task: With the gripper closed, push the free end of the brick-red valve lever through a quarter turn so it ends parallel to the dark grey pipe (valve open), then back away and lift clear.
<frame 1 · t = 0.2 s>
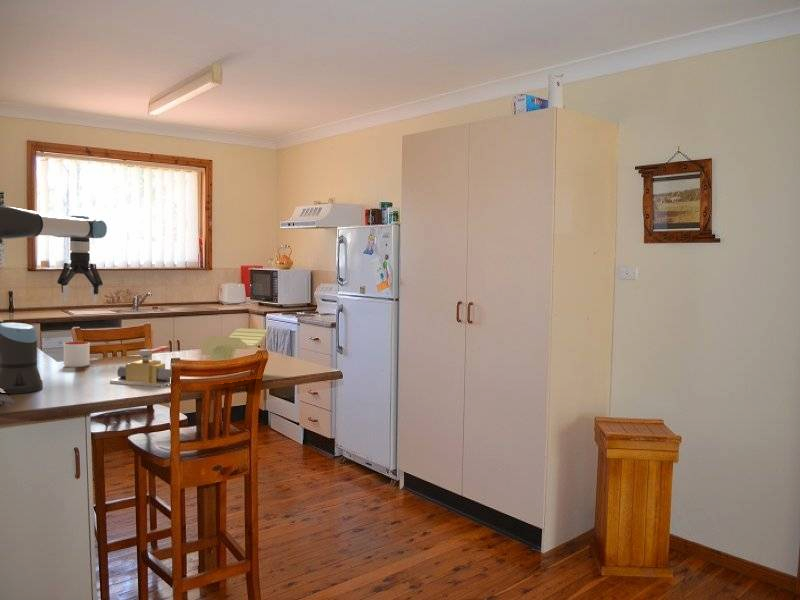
hand: (79, 301, 271), 28 cm above the kitchen counter, fingers open, 13 cm apart
lever: (155, 350, 247), point 12 cm above the kitchen counter, hinge at 0.0°
valve: (145, 382, 242), on the kitchen counter
slatted curved stool: (235, 375, 263), on the kitchen counter
cup: (76, 366, 271), on the kitchen counter
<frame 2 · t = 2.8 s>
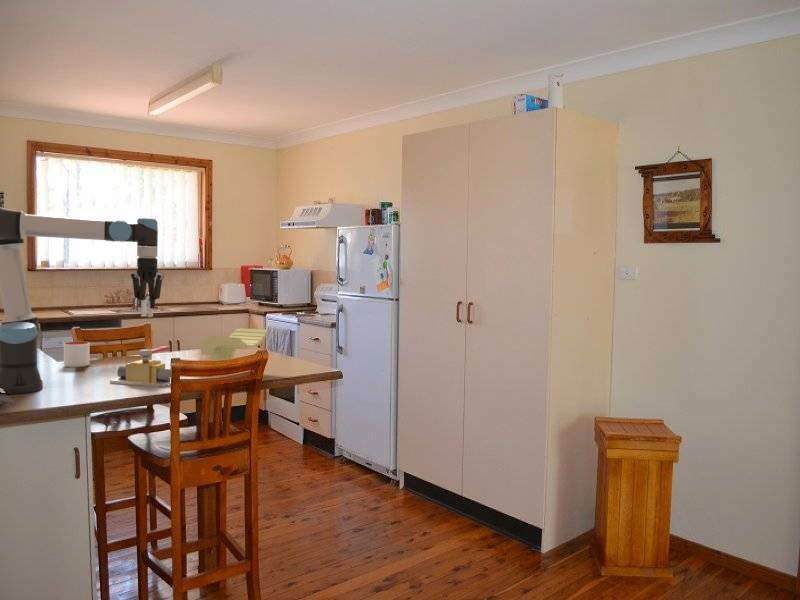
hand: (147, 316, 250), 24 cm above the kitchen counter, fingers open, 2 cm apart
nothing on the kitchen counter moved.
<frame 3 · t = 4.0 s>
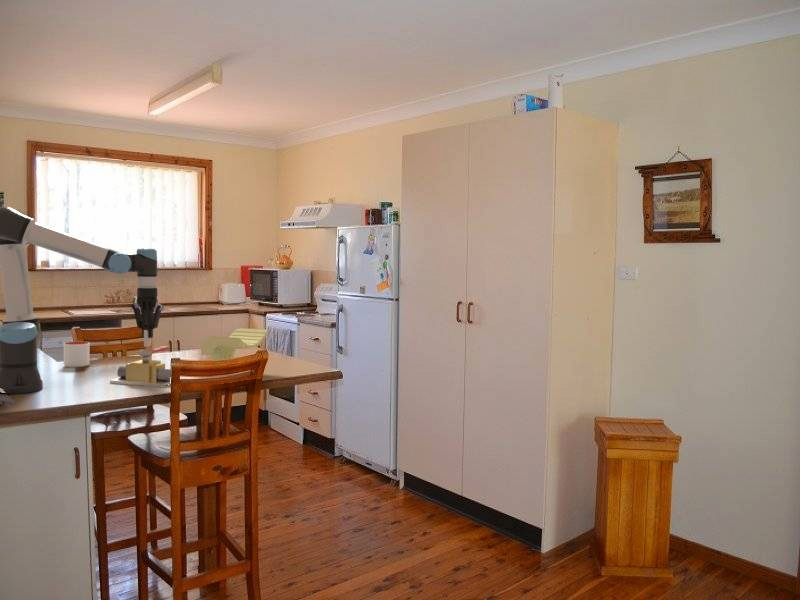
hand: (147, 345, 251), 13 cm above the kitchen counter, fingers closed
nothing on the kitchen counter moved.
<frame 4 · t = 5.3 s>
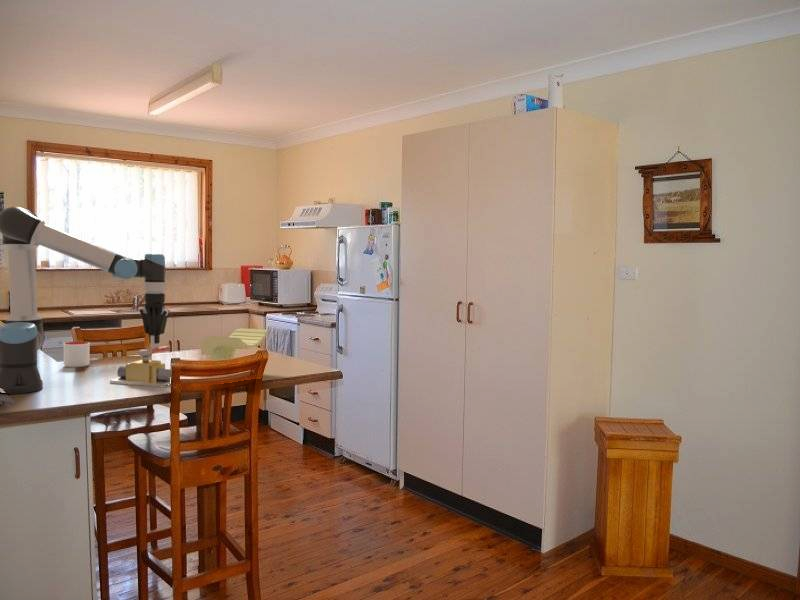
hand: (154, 351, 251), 11 cm above the kitchen counter, fingers closed
lever: (155, 350, 247), point 11 cm above the kitchen counter, hinge at 0.5°, touching gripper
everything else where it was.
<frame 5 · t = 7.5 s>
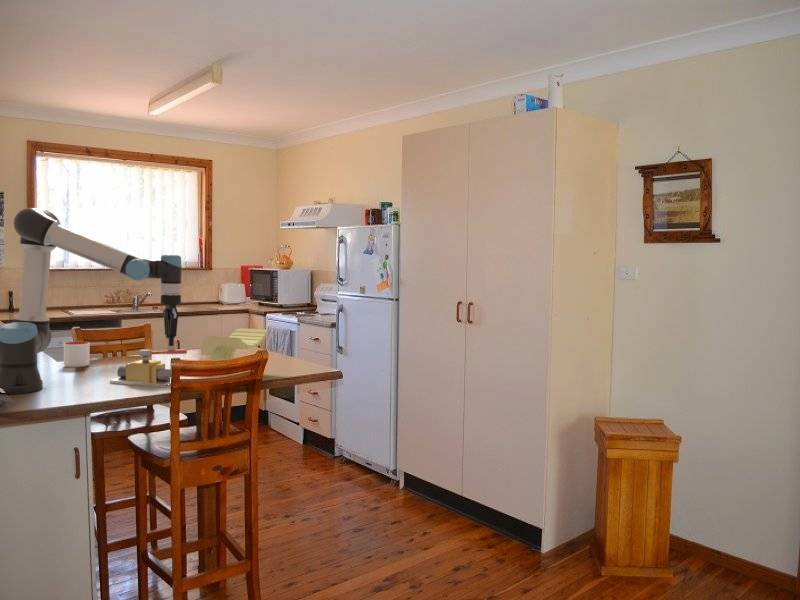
hand: (170, 353, 247), 10 cm above the kitchen counter, fingers closed
lever: (163, 352, 244), point 11 cm above the kitchen counter, hinge at 51.2°, touching gripper
everything else where it was.
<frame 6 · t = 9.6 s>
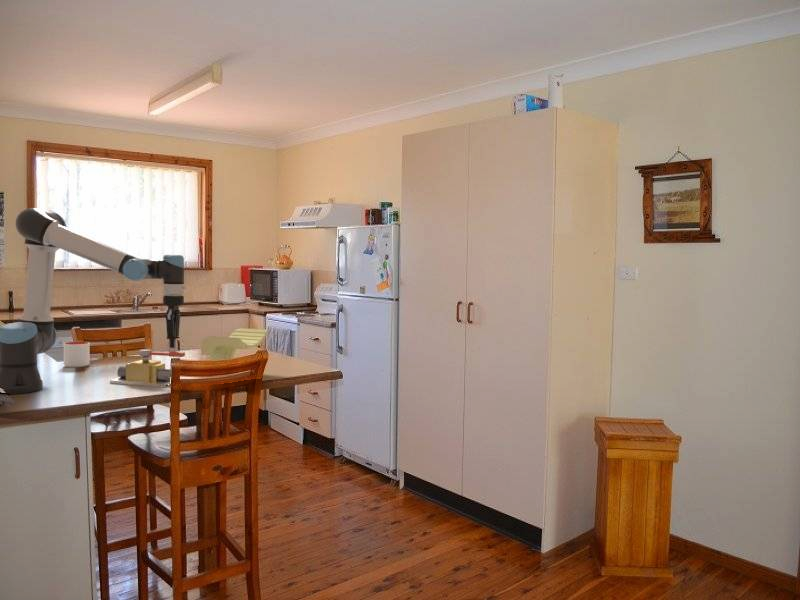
hand: (172, 355, 242), 10 cm above the kitchen counter, fingers closed
lever: (161, 353, 241), point 11 cm above the kitchen counter, hinge at 84.5°
everything else where it was.
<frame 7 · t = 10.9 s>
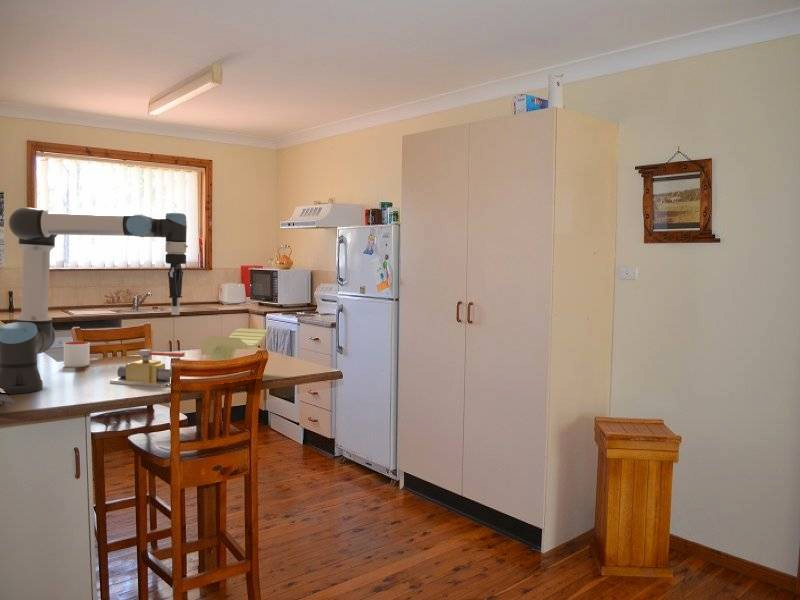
hand: (175, 314, 242), 26 cm above the kitchen counter, fingers closed
lever: (161, 353, 240), point 12 cm above the kitchen counter, hinge at 86.1°
everything else where it was.
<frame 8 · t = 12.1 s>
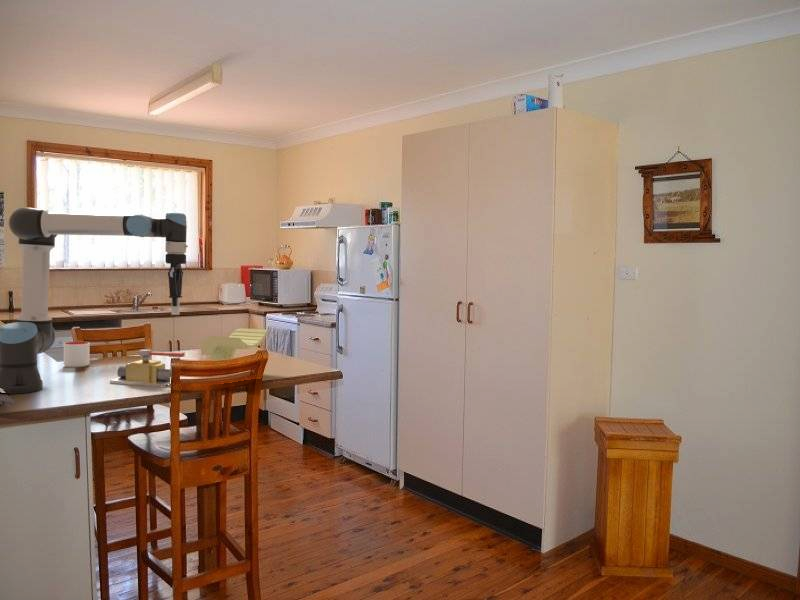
hand: (175, 314, 242), 26 cm above the kitchen counter, fingers closed
nothing on the kitchen counter moved.
at the end: lever at +86° (first picture: +0°) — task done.
